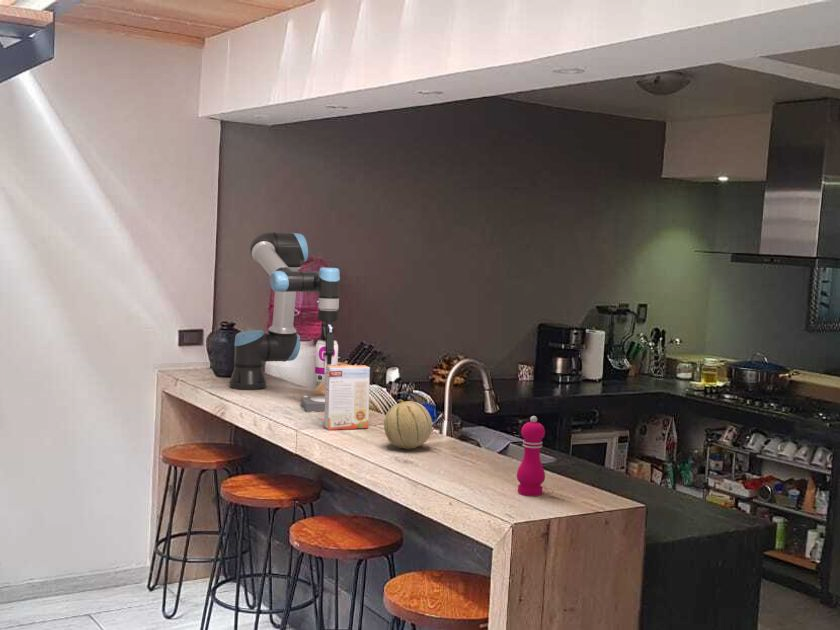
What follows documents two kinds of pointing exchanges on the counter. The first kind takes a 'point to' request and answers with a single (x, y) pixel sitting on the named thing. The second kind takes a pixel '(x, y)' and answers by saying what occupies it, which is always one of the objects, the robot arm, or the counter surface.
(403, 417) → the cantaloupe
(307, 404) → the grey flat block
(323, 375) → the supplement can
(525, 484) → the pepper mill
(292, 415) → the counter surface
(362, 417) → the cracker box
